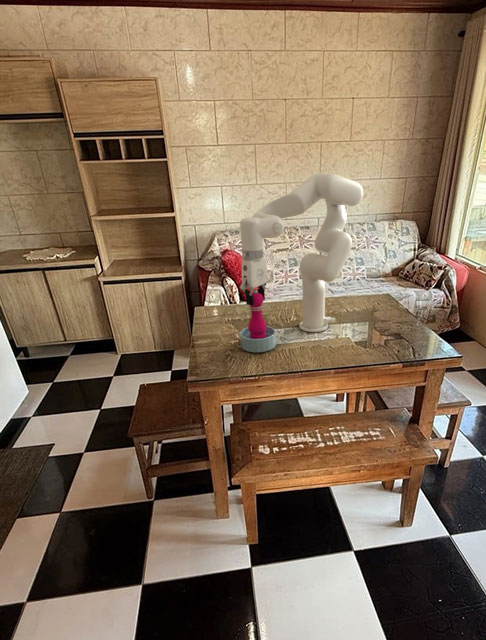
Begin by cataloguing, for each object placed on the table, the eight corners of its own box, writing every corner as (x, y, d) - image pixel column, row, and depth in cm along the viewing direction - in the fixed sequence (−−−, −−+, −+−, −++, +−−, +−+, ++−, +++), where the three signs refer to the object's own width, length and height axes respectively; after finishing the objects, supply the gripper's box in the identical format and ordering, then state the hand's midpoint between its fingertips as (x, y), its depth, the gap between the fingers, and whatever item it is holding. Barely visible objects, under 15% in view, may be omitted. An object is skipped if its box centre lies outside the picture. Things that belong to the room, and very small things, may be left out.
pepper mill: (264, 342, 158) (262, 292, 149) (246, 341, 160) (243, 291, 150) (268, 334, 165) (266, 286, 155) (251, 333, 166) (248, 285, 156)
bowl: (273, 337, 171) (272, 323, 168) (278, 351, 159) (278, 337, 156) (239, 340, 169) (238, 327, 166) (242, 355, 157) (241, 341, 154)
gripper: (245, 260, 138) (248, 310, 147) (275, 250, 150) (277, 297, 159) (228, 258, 142) (233, 307, 151) (259, 248, 154) (261, 294, 163)
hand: (255, 301), depth 155 cm, fingers closed on pepper mill, 6 cm apart
